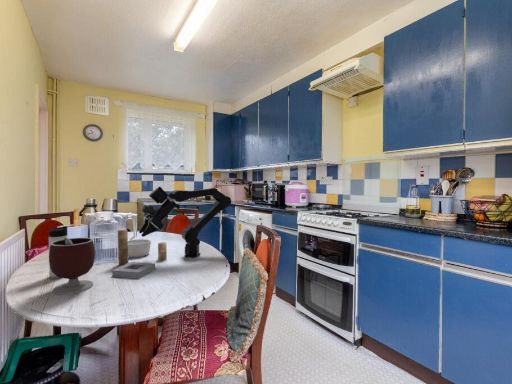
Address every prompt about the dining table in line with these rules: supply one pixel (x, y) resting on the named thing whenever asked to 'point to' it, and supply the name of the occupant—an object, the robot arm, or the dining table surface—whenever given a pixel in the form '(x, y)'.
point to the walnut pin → (122, 247)
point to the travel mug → (56, 235)
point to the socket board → (133, 270)
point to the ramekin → (138, 247)
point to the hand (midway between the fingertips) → (140, 234)
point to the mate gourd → (72, 263)
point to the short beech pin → (162, 251)
